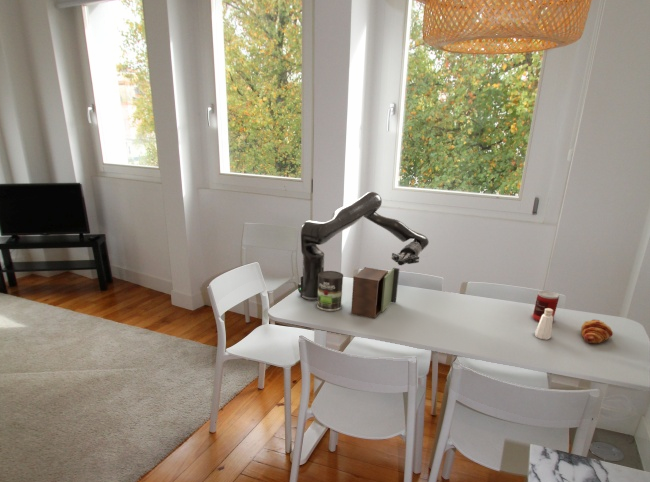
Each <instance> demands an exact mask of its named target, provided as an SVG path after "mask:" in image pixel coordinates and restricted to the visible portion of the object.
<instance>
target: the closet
mask: <svg viewBox="0 0 650 482" xmlns="http://www.w3.org/2000/svg"><path fill="white" fill-rule="evenodd" d="M388 273H389V270H385V269H378V268H373V267H372V268H371V267H363V268H362V269H361V270H360V271H358V272H357V273H356V274H355V275H354V276H353V277H352V278H353V279H352V281H353V282H352V296H351V307H350V308H351V310H350V315H353V316H354V315H355V316H360V317H364V318H369V319H373V320H374V319H376V318H377V317H378V316H379V314H380V313H382V312H381V302H382V291H383V281H384V277H385V276H386V275H387V274H388Z"/></svg>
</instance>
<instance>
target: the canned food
mask: <svg viewBox="0 0 650 482" xmlns="http://www.w3.org/2000/svg"><path fill="white" fill-rule="evenodd" d="M559 299H560V294H558V293H557V292H554V291H551V290H540V291H538V293H537V296H536V300H535V304H534V309H533V314H532V319H533V320H534V321H536V322H538V323H539V321H540V319H541V316H542V315H543V314H544V312H545V309H546V308H550V309H552V310H553V312H552V316H553V320H554V318H555V315H556V311H557V307H558V303H559Z"/></svg>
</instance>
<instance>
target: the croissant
mask: <svg viewBox="0 0 650 482" xmlns="http://www.w3.org/2000/svg"><path fill="white" fill-rule="evenodd" d="M580 330H581V336H582V337H583V339H584V341H585V342H586V343H588V344H600V343H603V342H605V341H607V340H608V339H610V338H611V337H612V336H613V334H614V331H613V329H612V328H611V327H610V326H609V325H608V324H606V323H605V322H604V321H602V320H600V319H591V320H587V321H585V322H584V323H583V324H582V325H581V328H580Z"/></svg>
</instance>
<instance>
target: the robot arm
mask: <svg viewBox="0 0 650 482" xmlns="http://www.w3.org/2000/svg"><path fill="white" fill-rule="evenodd" d="M382 201H383V200H382V197H381V195H380V194H379V193H377V192H375V191H368V192H366V193H364V195H363V196H361V197H360V198H358V199H356V200H354V201H352V202H350V203H348V204H346V205H344V206H342V207H339V208H337V209H336V210H335V211H334V212H333V213H332V215H331V219H330V220H328V221H325V222H321V221H316V220H306V221H304V222H303V224H302V226H301V229H300V249H301V250H300V251H301V255H302V275H300V282H299V283H297V291H298V293H299V295H300V296H299V297H300V298H303V300H308V301H318V274H319V273H320V272H323V271H325V253H324V251H323V250H321V248H319V247H318V246H321V245H324V244H326V243H328V242H329V241H330V240H332V239H333V238H334V237H335V236H336V235H339V234H340V233H341V232H343V231H345V230H346V229H349V228H350V227H352V226H353V225H355V224H356V223H357V222H359V221H360V220H361V219H362V218H365V219H367V220H368V221H370V222H371V223H374V224H376V225H377V226H379V227H381V228H383V229H384V230H386V231H387V232H389V233H390V234H391V235H393V236H394V237H395V238H397V239H398V240H399V241H401V242H402V243H405V242H407V241H409V240H411V239H412V240H411V241H410V242H409V243H408V244H406V245H405V246H404V247H403V248H402V249H401V250H400V251H399V252H397V253H395V252H392V253H391V260H392V261H394V262H395V263H397V265H398V266H404V265H405V264H407V265H411V264H412V265H413V264H418V263H419V262H420V256H419V255H420V254H421V252H422V251H423V250H424V249H426V247H428V246H429V243H430V242H429V239H428V237H427V236H426V235H424V234H423V233H420V232H417V231H415V230H412V228H409V226H407V225H406V224H405V223H403V222H402V221H400V220H399V219H395V218H392V217H391V218H390V217H386V216H383V215H381V214H379V213H377V211H378V210H380V207H381V206H382Z"/></svg>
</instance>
